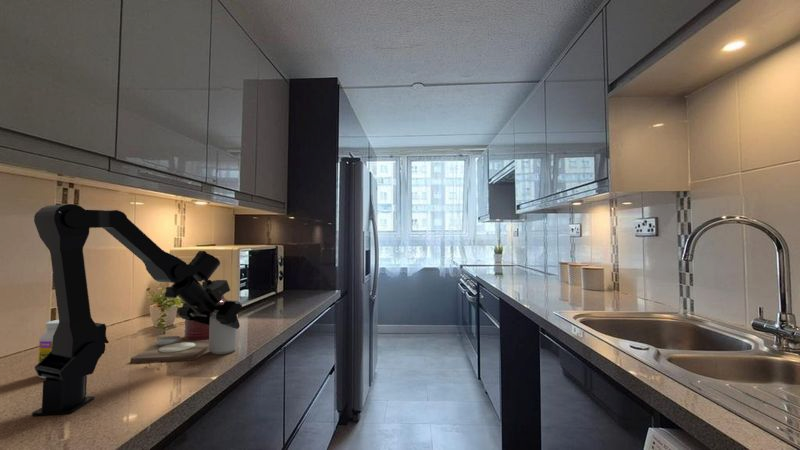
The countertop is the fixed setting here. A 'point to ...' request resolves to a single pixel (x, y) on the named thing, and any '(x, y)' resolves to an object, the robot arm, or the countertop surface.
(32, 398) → the countertop surface
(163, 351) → the board
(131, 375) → the countertop surface
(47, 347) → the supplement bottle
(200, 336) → the canister
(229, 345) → the can
